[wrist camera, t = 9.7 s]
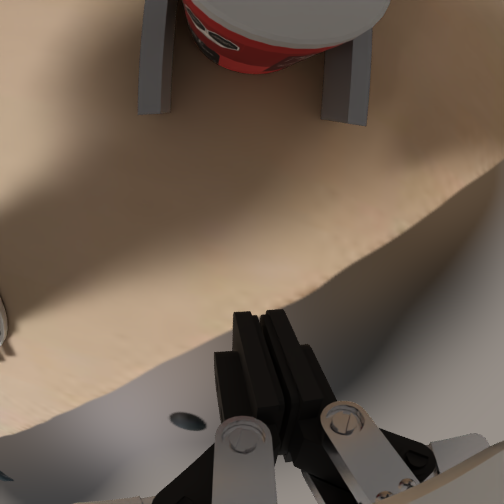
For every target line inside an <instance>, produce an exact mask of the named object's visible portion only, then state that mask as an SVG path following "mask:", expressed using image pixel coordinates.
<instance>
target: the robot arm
mask: <svg viewBox="0 0 504 504" xmlns="http://www.w3.org/2000/svg"><path fill="white" fill-rule="evenodd" d="M7 330H8V324H7V316H6V312H5V308H4V306H3V303H2V300H1V298H0V346H1V345H2V344H3V342H4V340H5V338H6V336H7ZM214 369H215V383H216V392H217V398H218V406H219V413H220V420H221V425H220V426H219V427H218V429H217V431H216V435H215V443H214V444H213V445H212V446H211V447H209V448H208V449H207V450H206V451H205V452H204V453H203V454H202V455H201V456H200V457H199V458H198V459H197V460H196V461H195V462H194V463H192V464H191V465H190V466H189V467H188V468H187V469H186V470H184V471H183V472H182V473H181V474H180V475H179V476H178V477H177V478H175V479H174V480H173V481H172V482H171V483H170V484H169V485H167V486H166V487H165V488H164V489H163V490H161V491H160V492H159V493H158V494H157V495H156V496H152V497H147V498H140V496H138V497H132V498H124V499H116V500H107V501H96V502H80V503H74V504H277V494H276V482H275V469H274V467H275V463H276V459H277V456H278V455H283V456H284V459H285V462H291V461H293V464H294V466H295V467H297V468H299V469H301V472H302V475H303V477H304V479H305V481H306V483H307V484H308V487H309V488H310V490H311V492H312V494H313V496H314V497H315V499H316V501H317V503H318V504H504V441H502V442H499V443H496V444H494V445H492V446H489V443H488V442H487V440H486V438H484V437H483V436H482V435H480V434H476V433H473V434H467V435H463V436H459V437H454V438H450V439H445V440H441V441H435V442H430V444H429V445H424V444H422V443H419V442H417V441H414V440H411V439H408V438H405V437H402V436H399V435H397V434H394V433H391V432H388V431H386V430H383V429H380V428H378V427H377V425H376V424H375V423H374V421H373V420H372V419H371V418H370V416H369V415H368V413H367V412H366V411H365V410H364V409H363V408H362V407H361V406H359V405H357V404H356V403H353V402H349V401H337V400H336V398H335V396H334V394H333V392H332V390H331V387H330V385H329V383H328V381H327V379H326V377H325V375H324V373H323V371H322V369H321V367H320V365H319V363H318V361H317V358H316V357H315V354H314V353H313V350H312V348H311V347H310V345H308V344H305V345H300V344H299V342H298V340H297V338H296V335H295V333H294V331H293V329H292V326H291V324H290V322H289V320H288V318H287V316H286V313H285V311H284V310H283V309H278V310H267V311H266V315H261V317H260V323H259V320H258V317H257V315H252V314H251V312H250V311H247V312H234V314H233V347H232V351H226V352H214Z"/></svg>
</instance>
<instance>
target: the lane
mask: <svg viewBox="0 0 504 504" xmlns="http://www.w3.org/2000/svg"><path fill="white" fill-rule="evenodd" d="M177 1H178V0H145V6H144V15H143V25H142V36H141V49H140V64H139V85H138V115H143V114H162V113H170V108H171V81H172V62H173V47H174V33H175V22H176V11H177ZM371 55H372V28H370V29H369V30H367V31H366V32H364V33H363V34H361V35H359V36H358V37H356V38H355V39H353V40H351V41H348V42H345V43H343V44H342V45H339V46H336V47H334V48H331V49H328V50H326V51H325V65H324V81H323V95H322V108H321V119H323V120H330V121H336V122H342V123H348V124H355V125H361V126H366V124H367V113H368V102H369V89H370V74H371Z"/></svg>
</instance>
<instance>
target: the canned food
mask: <svg viewBox="0 0 504 504" xmlns="http://www.w3.org/2000/svg"><path fill="white" fill-rule="evenodd" d="M182 2H183V6H184V10H185V14H186V18H187V22H188V26H189V30H190V33H191V35H192V38H193V40H194V42H195V44H196V45H197V46H198V48H199V49H200V51H201V52H202V53H204V54H205V55H206V56H207V57H208V58H209V59H210V60H212V61H213V62H215V63H216V64H218V65H220V66H222V67H224V68H227V69H229V70H232V71H236V72H240V73H247V74H265V73H271V72H275V71H279V70H281V69H283V68H286V67H288V66H290V65H292V64H295V63H297V62H299V61H302V60H304V59H306V58H309V57H311V56H313V55H316V54H318V53H321V52H323V51H326V50H328V49H331V48H334V47H336V46H339V45H342V44H343V43H345V42H348V41H351V40H353V39H355V38H356V37H358V36H359V35H361V34H363V33H364V32H366V31H367V30H369V29H370V28H372V27H373V26H374V25H375V24H376V23H377V22H378V21H379V20H380V19H381V18H382V17H383V15H384V13H385V12H386V10H387V8H388V6H389V4H390V0H182Z"/></svg>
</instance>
